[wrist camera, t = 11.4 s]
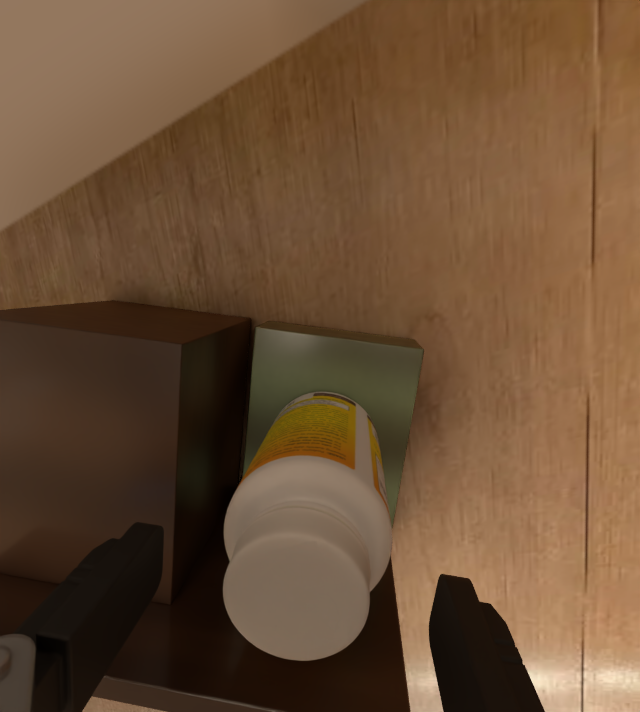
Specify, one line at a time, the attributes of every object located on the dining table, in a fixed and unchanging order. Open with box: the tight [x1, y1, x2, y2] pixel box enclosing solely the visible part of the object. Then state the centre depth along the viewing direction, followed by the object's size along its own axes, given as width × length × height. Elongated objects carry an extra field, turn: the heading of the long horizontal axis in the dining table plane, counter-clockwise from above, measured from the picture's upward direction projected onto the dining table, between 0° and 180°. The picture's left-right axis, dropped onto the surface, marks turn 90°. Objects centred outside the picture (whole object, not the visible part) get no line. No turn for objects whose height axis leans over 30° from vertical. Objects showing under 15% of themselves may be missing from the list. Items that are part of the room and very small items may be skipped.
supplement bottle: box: [223, 392, 392, 661], centre depth 15 cm, size 6×6×10 cm
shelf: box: [0, 300, 424, 712], centre depth 17 cm, size 12×18×12 cm, turn 83°
